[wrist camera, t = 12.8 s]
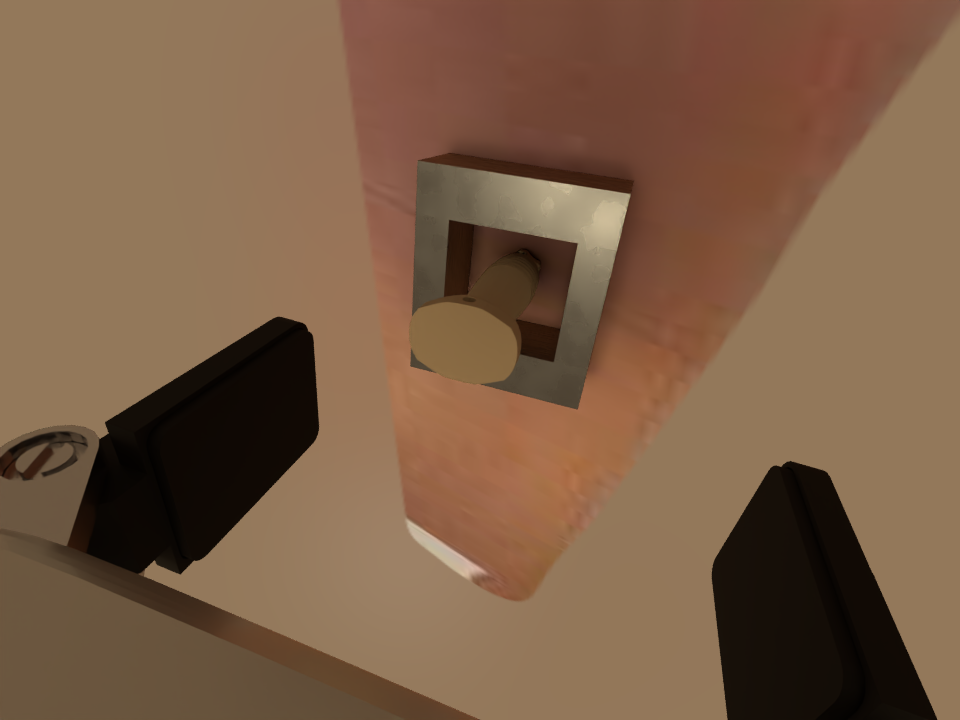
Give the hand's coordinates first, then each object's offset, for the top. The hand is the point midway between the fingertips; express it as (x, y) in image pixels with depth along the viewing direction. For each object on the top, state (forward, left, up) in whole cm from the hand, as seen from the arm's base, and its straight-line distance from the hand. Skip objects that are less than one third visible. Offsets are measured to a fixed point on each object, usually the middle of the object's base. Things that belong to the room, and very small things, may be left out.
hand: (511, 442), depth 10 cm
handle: (+6, -6, -30) cm, 32 cm away
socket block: (+7, -6, -30) cm, 31 cm away
